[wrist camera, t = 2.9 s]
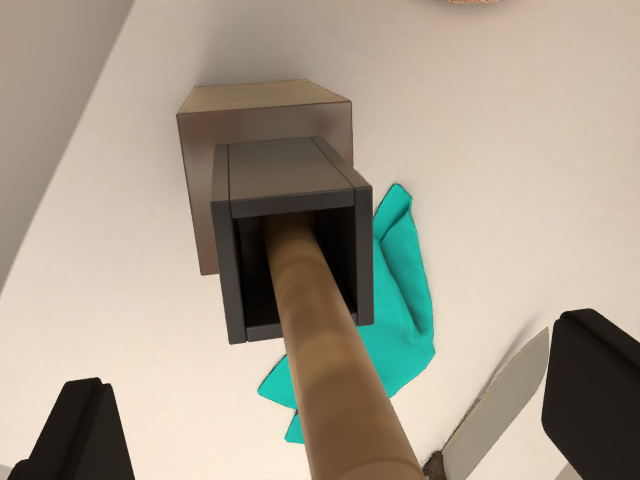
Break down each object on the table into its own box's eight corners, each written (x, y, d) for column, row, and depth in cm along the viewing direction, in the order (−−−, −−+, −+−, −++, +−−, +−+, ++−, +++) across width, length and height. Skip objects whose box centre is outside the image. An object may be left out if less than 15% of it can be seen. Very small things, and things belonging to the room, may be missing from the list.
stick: (257, 217, 25) (322, 566, 8) (252, 169, 24) (314, 453, 8) (293, 213, 25) (426, 544, 9) (290, 165, 24) (430, 433, 8)
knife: (407, 586, 52) (592, 366, 41) (386, 582, 51) (569, 358, 41) (392, 532, 57) (553, 325, 47) (373, 528, 56) (532, 316, 46)
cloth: (358, 462, 51) (364, 480, 49) (232, 423, 46) (232, 441, 44) (507, 241, 44) (521, 251, 42) (376, 172, 40) (385, 179, 38)
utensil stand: (208, 197, 38) (190, 389, 17) (193, 86, 35) (147, 156, 14) (313, 187, 39) (415, 355, 18) (307, 79, 36) (420, 133, 15)
